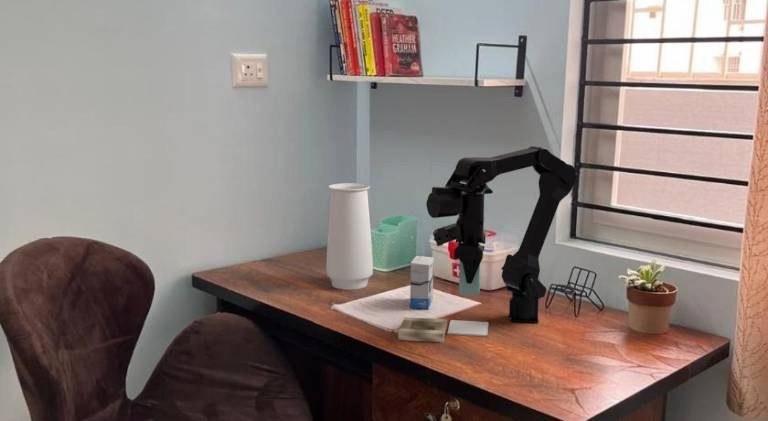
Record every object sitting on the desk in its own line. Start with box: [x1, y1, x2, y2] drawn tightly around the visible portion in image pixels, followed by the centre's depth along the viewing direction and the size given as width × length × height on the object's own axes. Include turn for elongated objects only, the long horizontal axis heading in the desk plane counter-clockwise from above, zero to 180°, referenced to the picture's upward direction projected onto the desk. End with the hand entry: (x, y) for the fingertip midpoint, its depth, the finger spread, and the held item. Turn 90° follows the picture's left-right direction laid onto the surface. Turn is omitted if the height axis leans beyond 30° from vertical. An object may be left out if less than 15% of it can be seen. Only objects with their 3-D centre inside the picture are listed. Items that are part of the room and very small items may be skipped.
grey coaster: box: [446, 319, 489, 338], centre depth 175 cm, size 9×9×1 cm
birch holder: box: [397, 316, 448, 344], centre depth 172 cm, size 10×10×2 cm
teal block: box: [458, 260, 481, 297], centre depth 173 cm, size 4×4×8 cm
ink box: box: [409, 255, 434, 310], centre depth 193 cm, size 8×5×12 cm, turn 168°
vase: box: [325, 182, 374, 291], centre depth 209 cm, size 13×13×28 cm
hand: (469, 280), depth 173 cm, fingers closed on teal block, 4 cm apart
